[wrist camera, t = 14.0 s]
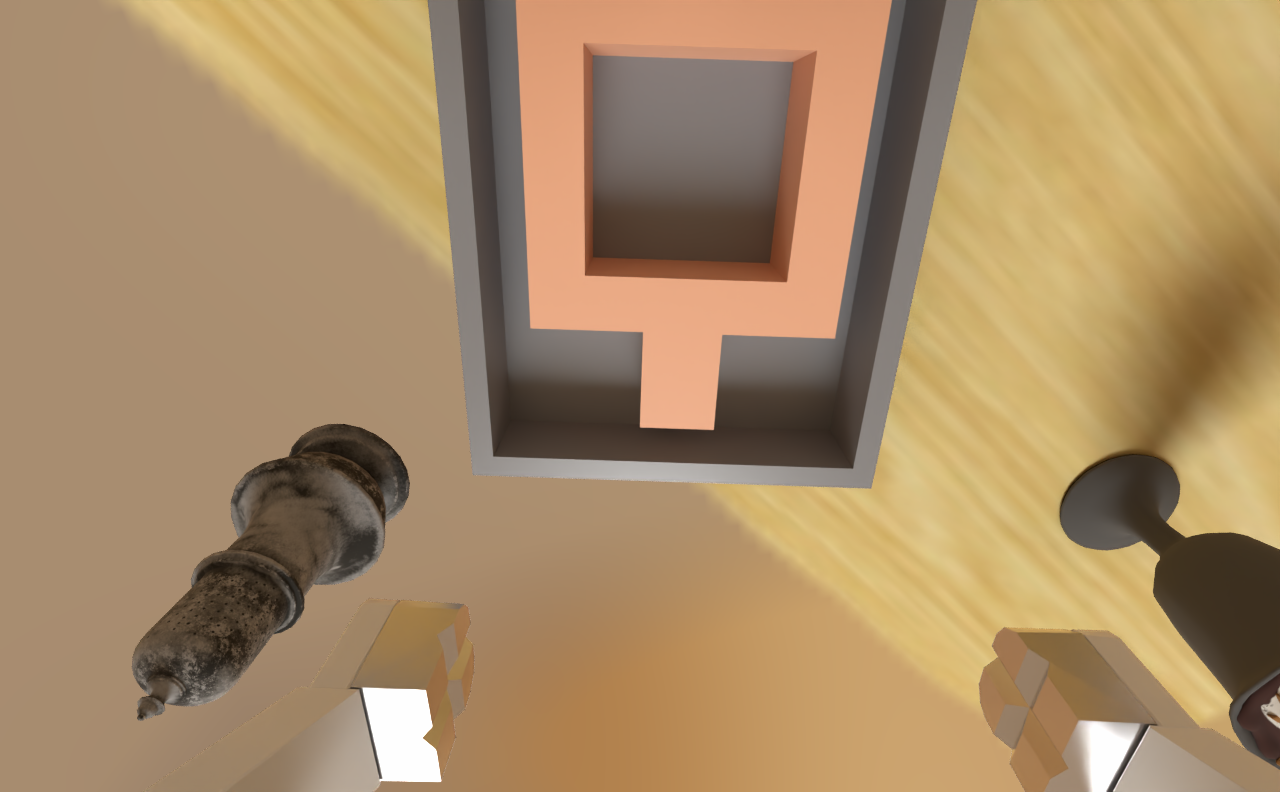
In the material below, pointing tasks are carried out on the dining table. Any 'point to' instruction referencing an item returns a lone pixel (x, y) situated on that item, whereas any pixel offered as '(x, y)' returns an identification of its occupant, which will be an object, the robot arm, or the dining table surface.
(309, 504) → the salt shaker
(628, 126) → the tray
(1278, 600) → the sundae
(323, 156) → the dining table surface
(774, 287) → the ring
